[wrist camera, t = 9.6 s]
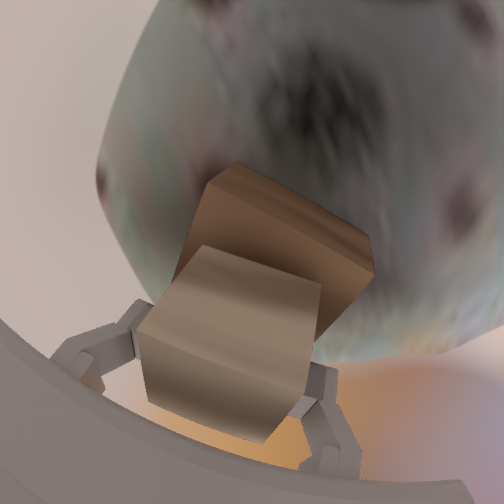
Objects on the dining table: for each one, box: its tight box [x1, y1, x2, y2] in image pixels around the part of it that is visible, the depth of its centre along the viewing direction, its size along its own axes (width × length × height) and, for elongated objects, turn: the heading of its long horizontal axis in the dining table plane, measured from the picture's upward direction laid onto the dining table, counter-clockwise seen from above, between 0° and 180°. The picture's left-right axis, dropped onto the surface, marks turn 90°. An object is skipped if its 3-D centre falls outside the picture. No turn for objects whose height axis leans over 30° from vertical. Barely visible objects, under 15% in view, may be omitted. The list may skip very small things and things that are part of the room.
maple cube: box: [136, 245, 322, 445], centre depth 11 cm, size 5×5×5 cm
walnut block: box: [171, 162, 376, 342], centre depth 15 cm, size 8×8×4 cm
